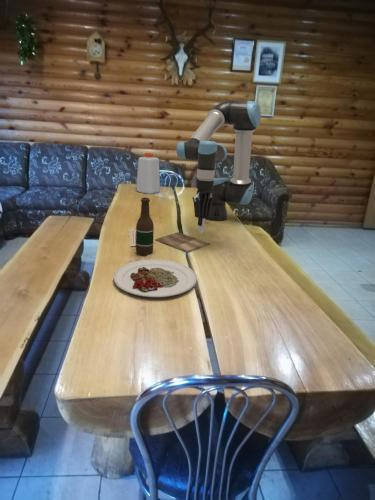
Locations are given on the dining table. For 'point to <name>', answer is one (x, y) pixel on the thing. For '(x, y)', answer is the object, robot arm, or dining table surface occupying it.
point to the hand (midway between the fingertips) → (200, 231)
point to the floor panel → (175, 239)
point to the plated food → (155, 278)
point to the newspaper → (132, 237)
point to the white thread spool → (148, 174)
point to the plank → (192, 245)
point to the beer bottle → (144, 230)
